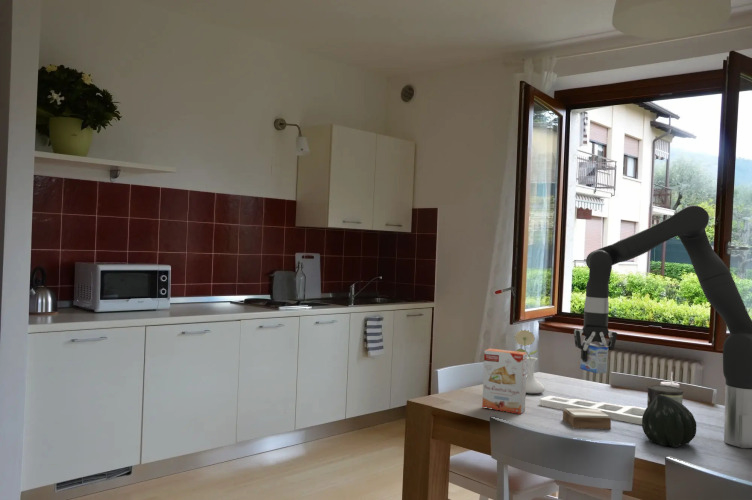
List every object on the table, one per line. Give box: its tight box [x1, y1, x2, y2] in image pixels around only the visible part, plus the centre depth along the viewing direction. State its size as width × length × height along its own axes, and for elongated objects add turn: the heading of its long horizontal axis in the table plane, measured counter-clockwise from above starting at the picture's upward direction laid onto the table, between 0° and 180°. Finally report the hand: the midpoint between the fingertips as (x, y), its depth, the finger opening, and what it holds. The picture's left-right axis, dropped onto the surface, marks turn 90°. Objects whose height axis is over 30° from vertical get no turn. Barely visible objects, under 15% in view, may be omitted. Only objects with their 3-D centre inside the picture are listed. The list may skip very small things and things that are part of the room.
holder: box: [538, 395, 647, 426], centre depth 223 cm, size 45×18×3 cm, turn 50°
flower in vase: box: [514, 329, 546, 394], centre depth 253 cm, size 13×11×25 cm
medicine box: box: [579, 342, 609, 374], centre depth 207 cm, size 8×4×9 cm, turn 22°
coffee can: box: [646, 384, 684, 408], centre depth 198 cm, size 10×10×14 cm
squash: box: [641, 394, 697, 448], centre depth 186 cm, size 14×15×15 cm
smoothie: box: [659, 371, 680, 388], centre depth 230 cm, size 6×6×14 cm
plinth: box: [562, 408, 612, 430], centre depth 205 cm, size 10×12×4 cm
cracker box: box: [481, 347, 528, 415], centre depth 221 cm, size 14×6×21 cm, turn 62°
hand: (593, 361), depth 207 cm, fingers closed on medicine box, 5 cm apart
